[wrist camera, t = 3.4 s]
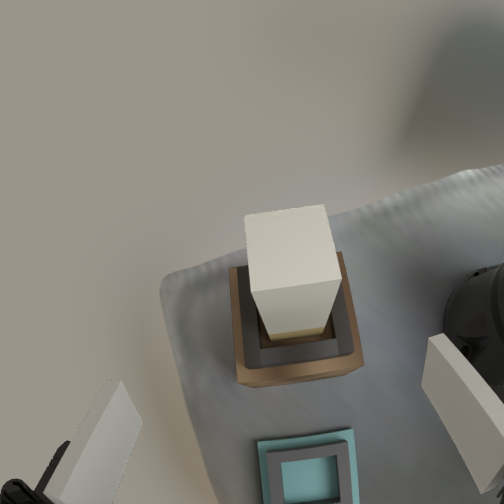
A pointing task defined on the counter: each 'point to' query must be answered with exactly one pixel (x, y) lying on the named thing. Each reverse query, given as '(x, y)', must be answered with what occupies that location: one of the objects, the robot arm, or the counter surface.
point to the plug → (292, 270)
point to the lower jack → (310, 469)
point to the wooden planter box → (292, 351)
